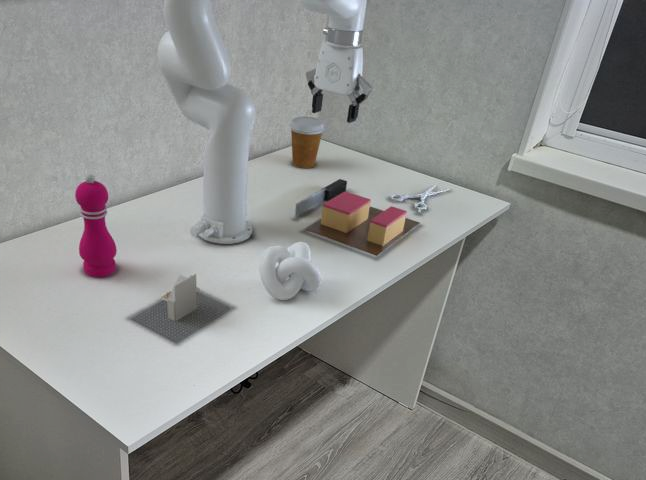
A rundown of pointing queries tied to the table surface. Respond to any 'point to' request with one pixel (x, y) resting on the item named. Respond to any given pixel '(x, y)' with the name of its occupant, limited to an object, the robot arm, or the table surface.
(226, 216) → the robot arm
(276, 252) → the white knot sculpture
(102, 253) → the pepper mill
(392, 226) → the cake slice
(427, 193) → the scissors
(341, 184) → the knife
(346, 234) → the cake board
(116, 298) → the table surface
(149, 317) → the architectural model
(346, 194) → the cake
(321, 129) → the disposable coffee cup
